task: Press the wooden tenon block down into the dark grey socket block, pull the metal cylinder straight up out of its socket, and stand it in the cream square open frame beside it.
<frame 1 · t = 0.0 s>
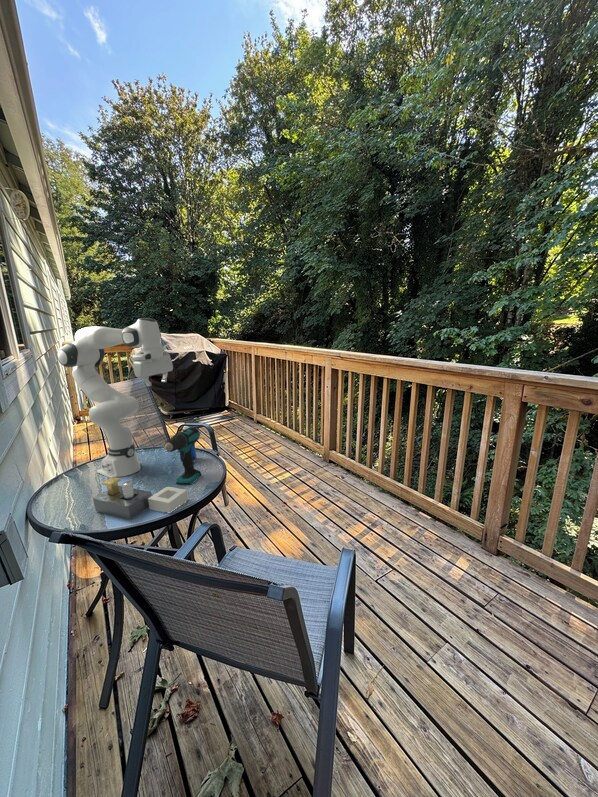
hand: (157, 383, 162), 48 cm above the table, tool pointing down, fingers open, 8 cm apart
wooden tenon block: (112, 488, 148), point 8 cm above the table, slide at 4.0 cm
cream square open frame: (169, 504, 149), on the table
power drill: (186, 481, 169), on the table
socket block: (124, 507, 148), on the table
metal cylinder: (131, 509, 147), resting in socket block
beer can: (189, 461, 193), on the table
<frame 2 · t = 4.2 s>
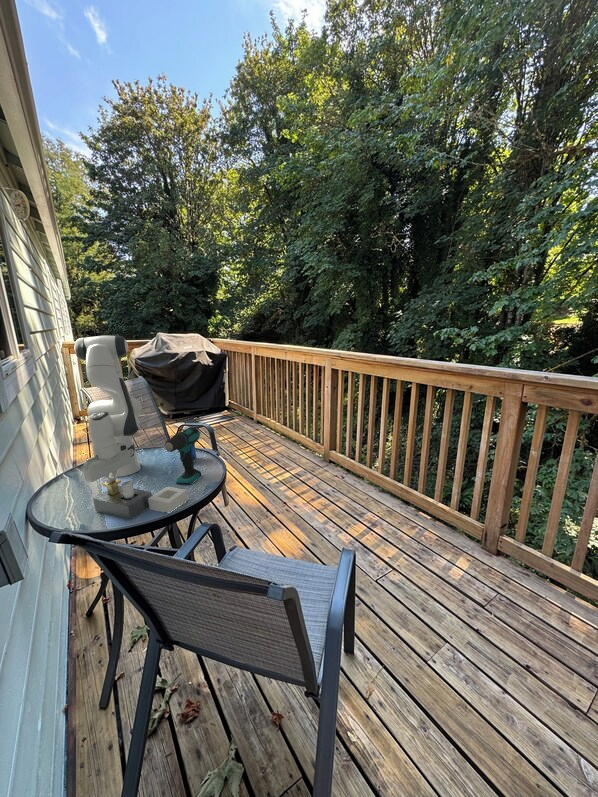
hand: (111, 482, 147), 11 cm above the table, tool pointing down, fingers closed, pressing on wooden tenon block
wooden tenon block: (113, 490, 148), point 8 cm above the table, slide at 3.3 cm, touching gripper
everything else where it was.
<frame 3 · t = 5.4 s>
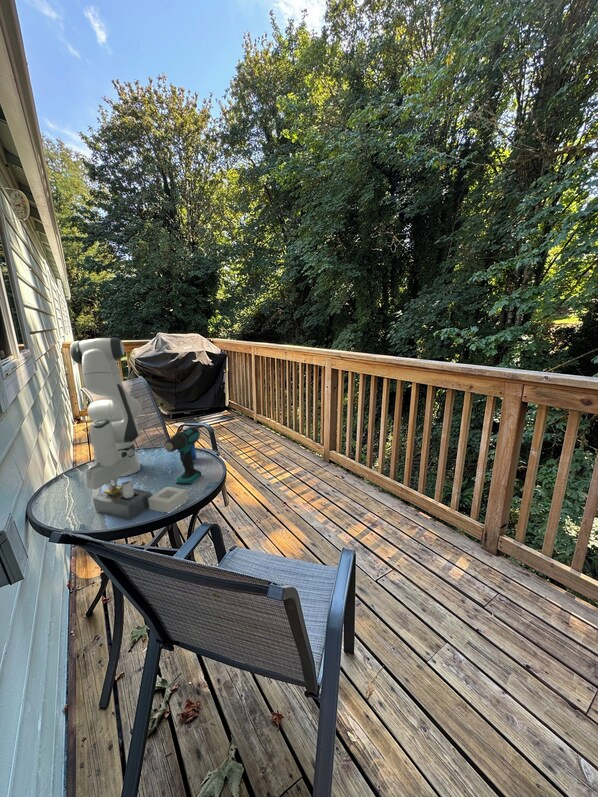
hand: (113, 488, 148), 8 cm above the table, tool pointing down, fingers closed
wooden tenon block: (114, 497, 149), point 4 cm above the table, slide at 0.0 cm
everything else where it was.
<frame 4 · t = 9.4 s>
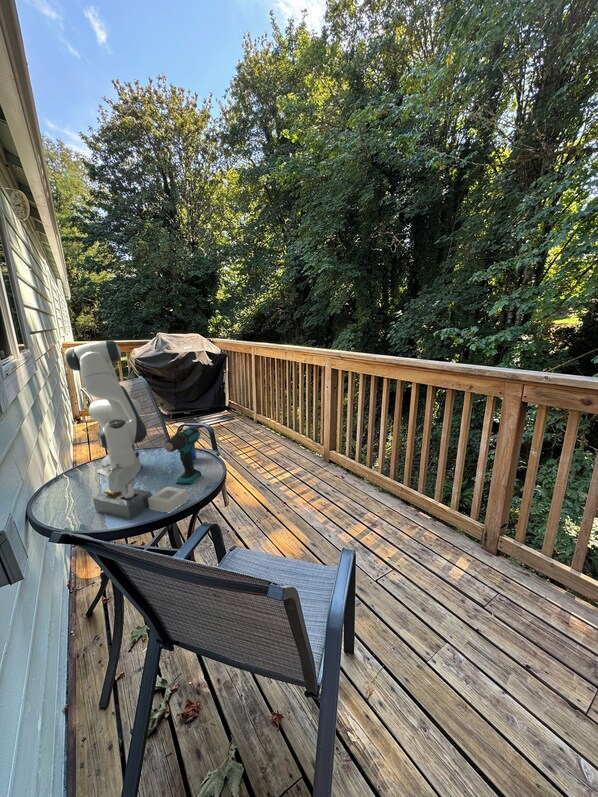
hand: (128, 490, 144), 9 cm above the table, tool pointing down, fingers closed on metal cylinder, 4 cm apart
metal cylinder: (131, 509, 147), resting in socket block, touching gripper
everything else where it was.
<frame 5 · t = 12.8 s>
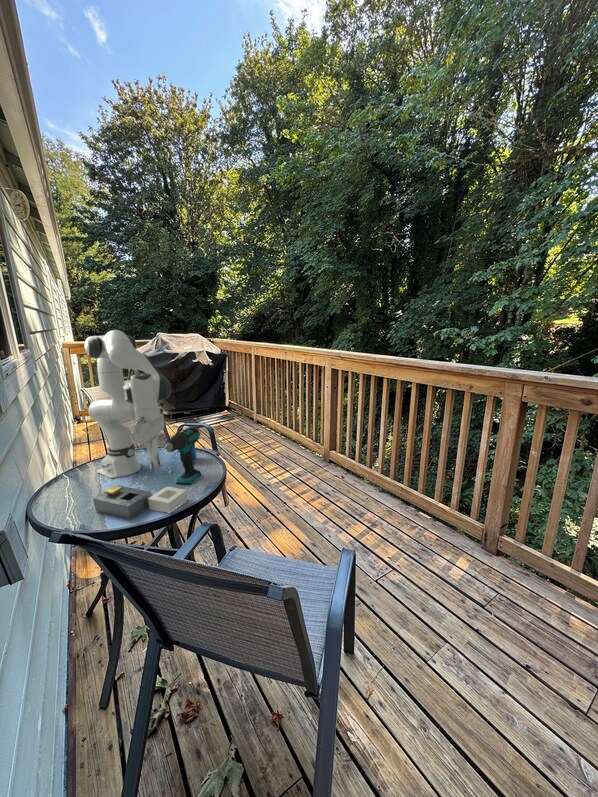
hand: (152, 447, 142), 27 cm above the table, tool pointing down, fingers closed on metal cylinder, 4 cm apart
metal cylinder: (155, 466, 144), point 18 cm above the table, touching gripper
everything else where it was.
when the fingers open (10 cm above the table, at t = 16.0 s): metal cylinder drops 1 cm, resting in cream square open frame.
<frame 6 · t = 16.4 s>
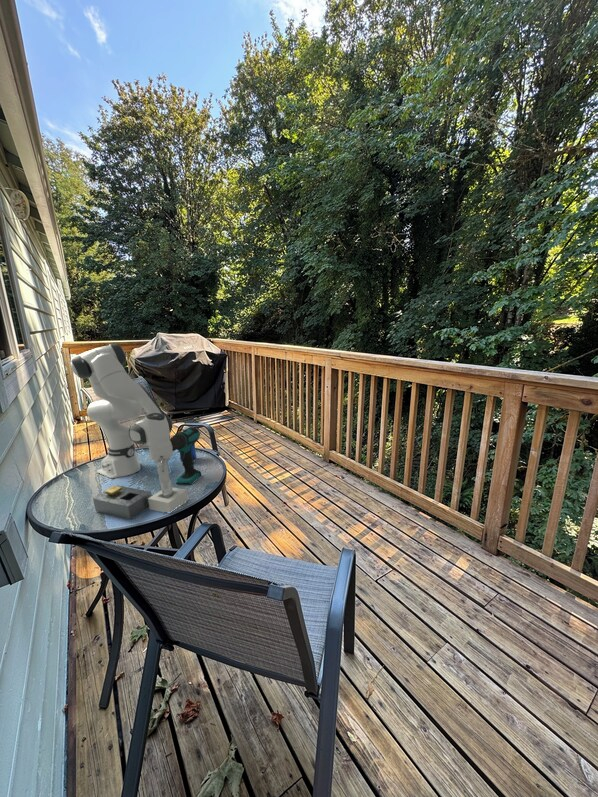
hand: (165, 483, 146), 10 cm above the table, tool pointing down, fingers open, 8 cm apart
power drill: (186, 481, 169), on the table, touching arm
metal cylinder: (169, 504, 149), resting in cream square open frame
everything else where it was.
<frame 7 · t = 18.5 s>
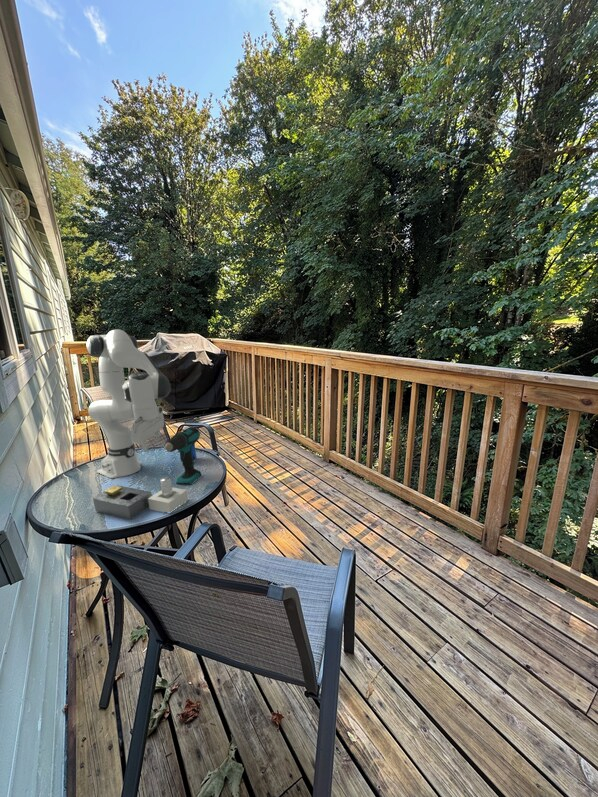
hand: (151, 445, 143), 27 cm above the table, tool pointing down, fingers open, 8 cm apart
power drill: (186, 481, 169), on the table
everything else where it was.
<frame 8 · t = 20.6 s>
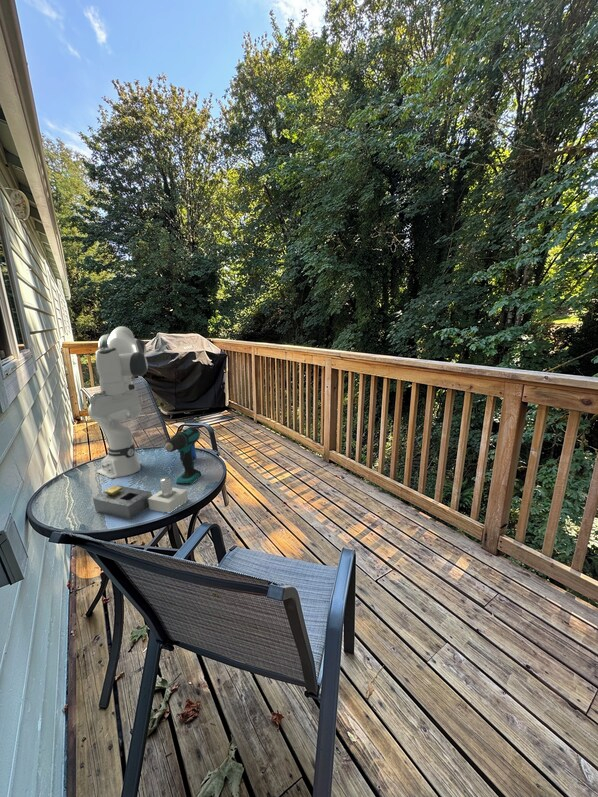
hand: (119, 421, 142), 37 cm above the table, tool pointing down, fingers open, 8 cm apart
nothing on the table moved.
at the end: wooden tenon block slide at 0.0 cm; metal cylinder 0.1 cm off-centre on the cream square open frame, point 0.0 cm above the cream square open frame's base; metal cylinder tilted 0° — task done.
